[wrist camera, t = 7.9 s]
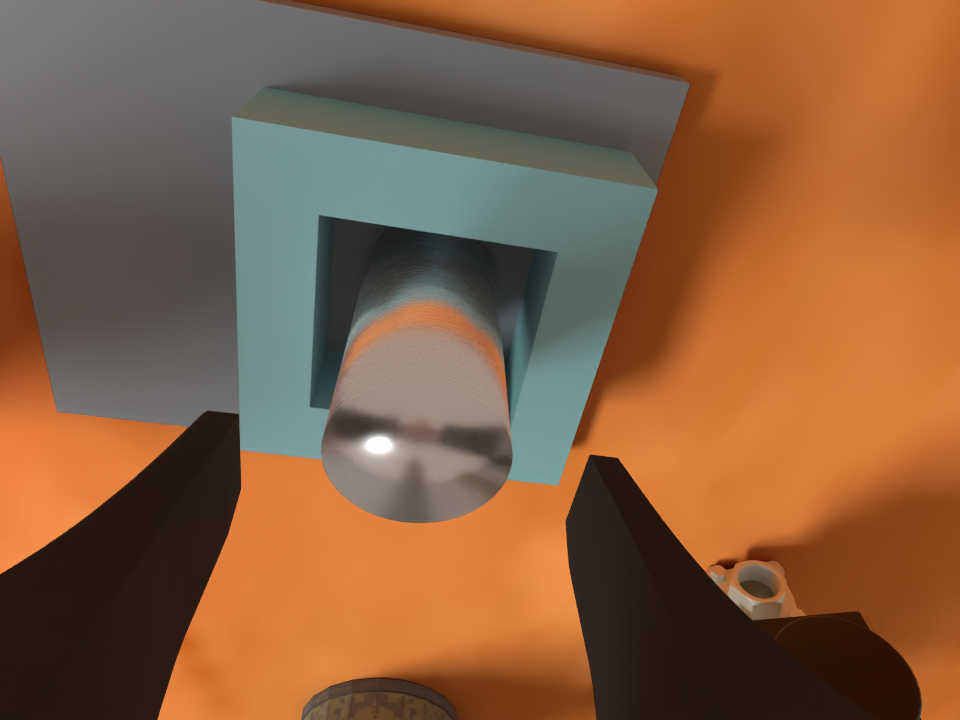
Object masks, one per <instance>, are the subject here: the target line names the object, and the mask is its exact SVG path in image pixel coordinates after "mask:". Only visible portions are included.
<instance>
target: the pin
mask: <svg viewBox="0 0 960 720" xmlns="http://www.w3.org/2000/svg"><path fill="white" fill-rule="evenodd" d="M321 457H322V463H323V466H324V469H325V472H326V474H327V476H328V478H329V480H330V481H331V482H332V484H333V485H334V487H335V488H336V489H337V490H338V491H339V492H340V493H341V494H342V495H343V496H344V497H345V498H346V499H348V500H349V501H350V502H351V503H353V504H355V505H356V506H358V507H359V508H361V509H363V510H365V511H367V512H369V513H372V514H374V515H377V516H379V517H383V518H386V519H390V520H395V521H400V522H410V523H430V522H439V521H445V520H449V519H453V518H457V517H460V516H462V515H465V514H467V513H470V512H472V511H474V510H475V509H477V508H479V507H481V506H482V505H484V504H485V503H487V502H488V501H489V500H490V499H491V498H492V497H494V496H495V495H496V493H497V492H498V491H499V490H500V489H501V487H502V486H503V484H504V483H505V481H506V479H507V477H508V475H509V473H510V469H511V466H512V458H513V451H512V440H511V430H510V419H509V408H508V398H507V387H506V377H505V366H504V356H503V345H502V335H501V324H500V314H499V303H498V292H497V282H496V271H495V265H494V261H493V258H492V256H491V253H490V252H489V250H488V248H487V246H486V245H485V244H484V242H483V241H482V240H476V239H470V238H463V237H457V236H450V235H444V234H437V233H431V232H425V231H418V230H412V229H405V228H399V227H392V228H391V229H389V230H388V231H386V232H385V233H384V234H383V235H382V236H381V237H380V238H379V239H378V240H377V242H376V243H375V244H374V246H373V248H372V250H371V252H370V254H369V257H368V260H367V264H366V268H365V272H364V276H363V280H362V284H361V288H360V292H359V296H358V300H357V304H356V308H355V312H354V316H353V319H352V323H351V327H350V331H349V335H348V339H347V343H346V347H345V351H344V355H343V359H342V363H341V367H340V371H339V375H338V379H337V383H336V387H335V391H334V395H333V399H332V403H331V407H330V410H329V414H328V418H327V422H326V426H325V430H324V434H323V439H322V443H321Z"/></svg>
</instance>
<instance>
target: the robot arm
mask: <svg viewBox="0 0 960 720" xmlns="http://www.w3.org/2000/svg"><path fill="white" fill-rule="evenodd" d="M240 490H241V466H240V429H239V414H235V413H226V412H218V411H209V410H207V411H206V412H204V413H203V414H201V415H200V416H199V417H198V418H197V419H196V420H195V421H194V422H193V423H192V424H191V425H190V426H189V427H188V428H187V429H186V430H185V431H184V432H183V433H182V434H181V435H180V436H179V437H178V438H177V439H176V440H175V441H174V442H173V443H172V444H171V445H170V446H169V447H168V448H167V449H166V450H165V451H164V452H162V453H161V454H160V455H159V456H158V457H157V458H156V459H155V460H154V461H153V462H151V463H150V464H149V465H148V466H147V467H146V468H145V469H144V470H143V471H141V472H140V473H139V474H138V475H137V476H136V477H135V478H134V479H132V480H131V481H130V482H129V483H128V484H127V485H125V486H124V487H123V488H122V489H121V490H119V491H118V492H117V493H116V494H114V495H113V496H112V497H111V498H109V499H108V500H107V501H106V502H104V503H103V504H102V505H101V506H99V507H98V508H97V509H96V510H95V511H93V512H92V513H91V514H89V515H88V516H87V517H85V518H84V519H83V520H81V521H80V522H79V523H77V524H76V525H75V526H73V527H72V528H70V529H69V530H68V531H66V532H65V533H63V534H62V535H61V536H59V537H58V538H56V539H55V540H53V541H52V542H50V543H49V544H48V545H46V546H45V547H43V548H42V549H40V550H39V551H37V552H35V553H34V554H32V555H31V556H29V557H27V558H26V559H24V560H23V561H21V562H20V563H18V564H16V565H15V566H13V567H12V568H10V569H8V570H7V571H5V572H3V573H2V574H0V720H157V719H158V716H159V712H160V709H161V706H162V703H163V699H164V696H165V693H166V690H167V687H168V683H169V680H170V677H171V674H172V671H173V668H174V664H175V661H176V658H177V656H178V653H179V650H180V648H181V645H182V642H183V640H184V637H185V634H186V632H187V630H188V627H189V625H190V623H191V620H192V618H193V616H194V613H195V611H196V609H197V606H198V604H199V602H200V599H201V597H202V595H203V592H204V590H205V588H206V585H207V583H208V581H209V578H210V576H211V574H212V571H213V569H214V566H215V564H216V562H217V559H218V557H219V555H220V552H221V550H222V547H223V545H224V543H225V540H226V538H227V535H228V532H229V529H230V526H231V522H232V519H233V515H234V512H235V508H236V505H237V501H238V498H239V494H240ZM566 534H567V549H568V560H569V568H570V574H571V579H572V584H573V589H574V594H575V599H576V604H577V608H578V613H579V618H580V623H581V627H582V632H583V637H584V642H585V647H586V651H587V656H588V661H589V666H590V672H591V678H592V684H593V691H594V700H595V710H596V719H597V720H878V719H877V718H875V717H874V716H872V715H871V714H869V713H868V712H867V711H865V710H864V709H862V708H861V707H859V706H858V705H856V704H855V703H853V702H852V701H851V700H849V699H848V698H846V697H845V696H843V695H842V694H841V693H839V692H838V691H837V690H835V689H834V688H833V687H831V686H830V685H829V684H828V683H826V682H825V681H824V680H822V679H821V678H820V677H819V676H817V675H816V674H815V673H813V672H812V671H811V670H809V669H808V668H807V667H806V666H804V665H803V664H802V663H801V662H800V661H798V660H797V659H796V658H795V657H793V656H792V655H791V654H790V653H789V652H787V651H786V650H785V649H784V648H783V647H782V646H781V645H779V644H778V643H777V642H776V641H775V640H774V639H773V638H772V637H770V636H769V635H768V634H767V633H766V632H765V631H764V630H762V629H761V628H760V627H759V626H758V625H757V624H756V623H755V622H754V621H753V620H752V619H751V618H749V617H748V616H747V615H746V614H745V613H744V612H743V611H742V610H741V609H740V608H739V607H738V606H737V605H736V604H735V603H734V602H733V601H732V600H731V599H730V598H729V597H728V596H727V595H726V594H725V593H724V592H723V591H722V590H721V589H720V587H719V586H718V585H717V584H716V583H715V582H714V581H713V580H712V579H711V578H710V577H709V576H708V574H707V573H706V572H705V571H704V570H703V569H702V567H701V566H700V565H699V564H698V563H697V562H696V561H695V559H694V558H693V557H692V556H691V555H690V554H689V552H688V551H687V550H686V549H685V548H684V546H683V545H682V544H681V543H680V541H679V540H678V539H677V538H676V536H675V535H674V534H673V533H672V531H671V530H670V529H669V527H668V526H667V525H666V524H665V522H664V521H663V520H662V518H661V517H660V516H659V514H658V513H657V512H656V510H655V509H654V508H653V506H652V505H651V504H650V502H649V501H648V499H647V498H646V497H645V495H644V494H643V493H642V491H641V490H640V488H639V487H638V486H637V484H636V483H635V481H634V480H633V479H632V477H631V476H630V474H629V473H628V472H627V470H626V469H625V467H624V466H623V465H622V463H621V462H620V460H619V459H618V458H614V457H605V456H597V455H590V456H589V458H588V461H587V464H586V467H585V470H584V472H583V475H582V478H581V481H580V483H579V486H578V489H577V492H576V494H575V497H574V500H573V503H572V505H571V508H570V511H569V514H568V516H567V519H566Z"/></svg>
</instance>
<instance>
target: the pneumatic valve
mask: <svg viewBox="0 0 960 720" xmlns="http://www.w3.org/2000/svg"><path fill="white" fill-rule="evenodd" d="M706 573H707V574H708V576H709V577H710V578H711V579H712V580H713V581H714V582H715V583H716V584H717V585H718V586H719V587H720V589H721V590H722V591H723V592H724V593H725V594H726V595H727V596H728V597H729V598H730V599H731V600H732V601H733V602H734V603H735V604H736V605H737V606H738V607H739V608H740V609H741V610H742V611H743V612H744V613H745V614H746V615H747V616H748V617H749V618H751V619H752V620H753V621H754V622H755V623H756V624H757V625H758V626H759V627H760V628H761V629H762V630H764V631H765V632H766V633H767V634H768V635H769V636H770V637H772V638H773V639H774V640H775V641H776V642H777V643H778V644H779V645H781V646H782V647H783V648H784V649H785V650H786V651H787V652H789V653H790V654H791V655H792V656H793V657H795V658H796V659H797V660H798V661H800V662H801V663H802V664H803V665H804V666H806V667H807V668H808V669H809V670H811V671H812V672H813V673H815V674H816V675H817V676H819V677H820V678H821V679H822V680H824V681H825V682H826V683H828V684H829V685H830V686H831V687H833V688H834V689H835V690H837V691H838V692H839V693H841V694H842V695H843V696H845V697H846V698H848V699H849V700H851V701H852V702H853V703H855V704H856V705H858V706H859V707H861V708H862V709H864V710H865V711H867V712H868V713H869V714H871V715H872V716H874V717H875V718H877V719H878V720H921V718H920V715H921V709H922V699H921V692H920V688H919V685H918V682H917V680H916V678H915V676H914V674H913V672H912V670H911V668H910V667H909V665H908V664H907V662H906V661H905V660H904V658H903V657H902V656H901V655H900V654H899V653H898V652H897V650H896V649H894V648H893V647H892V646H891V645H890V644H889V643H888V642H887V641H885V640H884V639H883V638H881V637H880V636H878V635H877V634H876V633H874V632H872V631H870V629H869V628H868V626H867V624H866V622H865V621H864V619H863V617H862V616H861V614H860V613H859V612H845V613H833V614H821V615H809V616H807V615H806V614H805V613H804V612H803V611H802V610H800V609H799V608H797V607H796V603H795V600H794V597H793V595H792V592H791V591H790V589H789V587H788V586H787V580H786V578H785V577H784V576H785V570H784V568H783V567H782V566H781V565H780V564H779V563H778V562H776V561H767V562H763V561H758V560H748V561H743V562H739V563H737V564H735V566H734V568H732V569H729V570H726V569H724V568H723V567H722V566H720V565H715V566H712V567H709V568H708V569H707V571H706Z"/></svg>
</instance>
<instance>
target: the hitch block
mask: <svg viewBox="0 0 960 720" xmlns="http://www.w3.org/2000/svg"><path fill="white" fill-rule="evenodd" d="M689 86H690V83H689V82H688V81H686V80H685V79H683V78H682V77H681V76H678V75H673V74H668V73H663V72H658V71H653V70H647V69H642V68H637V67H632V66H627V65H622V64H617V63H611V62H606V61H601V60H596V59H591V58H586V57H580V56H575V55H570V54H565V53H560V52H555V51H550V50H544V49H539V48H534V47H529V46H524V45H519V44H513V43H508V42H503V41H498V40H493V39H488V38H483V37H477V36H472V35H467V34H462V33H457V32H452V31H446V30H441V29H436V28H431V27H426V26H421V25H416V24H410V23H405V22H400V21H395V20H390V19H385V18H379V17H374V16H369V15H364V14H359V13H354V12H349V11H343V10H338V9H333V8H328V7H323V6H318V5H313V4H307V3H302V2H297V1H292V0H0V156H1V161H2V166H3V170H4V175H5V179H6V184H7V188H8V193H9V197H10V202H11V206H12V211H13V215H14V220H15V224H16V229H17V233H18V238H19V242H20V247H21V251H22V256H23V260H24V265H25V269H26V274H27V278H28V283H29V287H30V292H31V296H32V301H33V305H34V310H35V314H36V319H37V323H38V328H39V332H40V337H41V341H42V346H43V350H44V355H45V359H46V364H47V368H48V373H49V378H50V382H51V387H52V391H53V396H54V400H55V405H56V409H57V412H63V413H72V414H80V415H89V416H98V417H107V418H116V419H124V420H133V421H142V422H151V423H160V424H168V425H177V426H186V427H189V426H190V425H191V424H192V423H193V422H194V421H195V420H196V419H197V418H198V417H199V416H200V415H201V414H203V413H204V412H206V411H207V410H209V411H218V412H226V413H235V414H239V429H240V444H241V450H242V451H251V452H260V453H269V454H278V455H288V456H297V457H306V458H315V459H322V457H321V443H322V439H323V434H324V430H325V426H326V422H327V418H328V414H329V410H330V407H331V403H332V399H333V395H334V391H335V387H336V383H337V379H338V375H339V371H340V367H341V363H342V359H343V355H344V351H345V347H346V343H347V339H348V335H349V331H350V327H351V323H352V319H353V316H354V312H355V308H356V304H357V300H358V296H359V292H360V288H361V284H362V280H363V276H364V272H365V268H366V264H367V260H368V257H369V254H370V252H371V250H372V248H373V246H374V244H375V243H376V242H377V240H378V239H379V238H380V237H381V236H382V235H383V234H384V233H385V232H386V231H388V230H389V229H391V228H392V227H399V228H405V229H412V230H418V231H425V232H431V233H437V234H444V235H450V236H457V237H463V238H470V239H476V240H482V241H483V242H484V244H485V245H486V246H487V248H488V250H489V252H490V253H491V256H492V258H493V261H494V265H495V271H496V282H497V292H498V303H499V314H500V324H501V335H502V345H503V356H504V366H505V377H506V387H507V398H508V408H509V419H510V430H511V440H512V451H513V458H512V466H511V469H510V473H509V475H508V477H507V479H506V480H514V481H523V482H532V483H541V484H550V485H558V484H559V481H560V478H561V475H562V473H563V470H564V467H565V464H566V461H567V458H568V455H569V452H570V449H571V446H572V443H573V440H574V437H575V434H576V431H577V428H578V425H579V422H580V419H581V417H582V414H583V411H584V408H585V405H586V402H587V399H588V396H589V393H590V390H591V387H592V384H593V381H594V378H595V375H596V372H597V369H598V366H599V363H600V360H601V358H602V355H603V352H604V349H605V346H606V343H607V340H608V337H609V334H610V331H611V328H612V325H613V322H614V319H615V316H616V313H617V310H618V307H619V304H620V302H621V299H622V296H623V293H624V290H625V287H626V284H627V281H628V278H629V275H630V272H631V269H632V266H633V263H634V260H635V257H636V254H637V251H638V248H639V245H640V243H641V240H642V237H643V234H644V231H645V228H646V225H647V222H648V219H649V216H650V213H651V210H652V207H653V204H654V201H655V198H656V195H657V192H658V188H657V187H656V184H657V181H658V179H659V176H660V173H661V170H662V167H663V164H664V161H665V158H666V155H667V152H668V149H669V146H670V143H671V140H672V137H673V134H674V131H675V128H676V125H677V122H678V119H679V116H680V113H681V110H682V107H683V104H684V101H685V98H686V95H687V92H688V89H689Z"/></svg>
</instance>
